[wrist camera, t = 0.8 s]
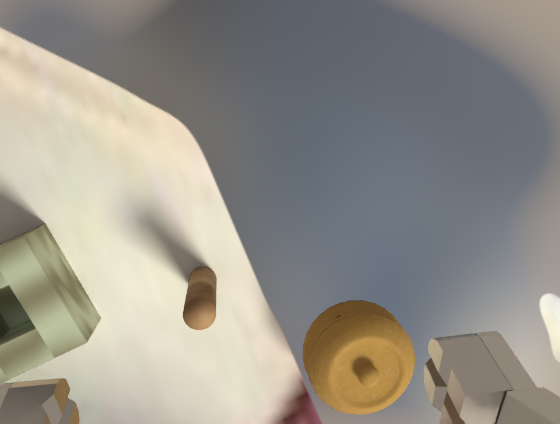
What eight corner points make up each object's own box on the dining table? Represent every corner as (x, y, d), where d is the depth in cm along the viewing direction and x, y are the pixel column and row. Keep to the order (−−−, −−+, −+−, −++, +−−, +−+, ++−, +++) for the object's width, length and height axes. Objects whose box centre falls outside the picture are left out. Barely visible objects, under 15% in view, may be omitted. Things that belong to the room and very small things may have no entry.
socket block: (100, 318, 55) (86, 342, 49) (1, 365, 55) (-25, 395, 49) (45, 223, 52) (23, 237, 46) (-60, 272, 52) (-95, 292, 46)
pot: (278, 352, 58) (290, 399, 49) (335, 271, 57) (359, 303, 47) (356, 397, 61) (382, 451, 51) (412, 321, 60) (450, 361, 50)
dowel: (220, 285, 56) (221, 321, 46) (196, 296, 56) (192, 335, 46) (209, 262, 55) (207, 294, 45) (184, 273, 55) (177, 308, 45)
